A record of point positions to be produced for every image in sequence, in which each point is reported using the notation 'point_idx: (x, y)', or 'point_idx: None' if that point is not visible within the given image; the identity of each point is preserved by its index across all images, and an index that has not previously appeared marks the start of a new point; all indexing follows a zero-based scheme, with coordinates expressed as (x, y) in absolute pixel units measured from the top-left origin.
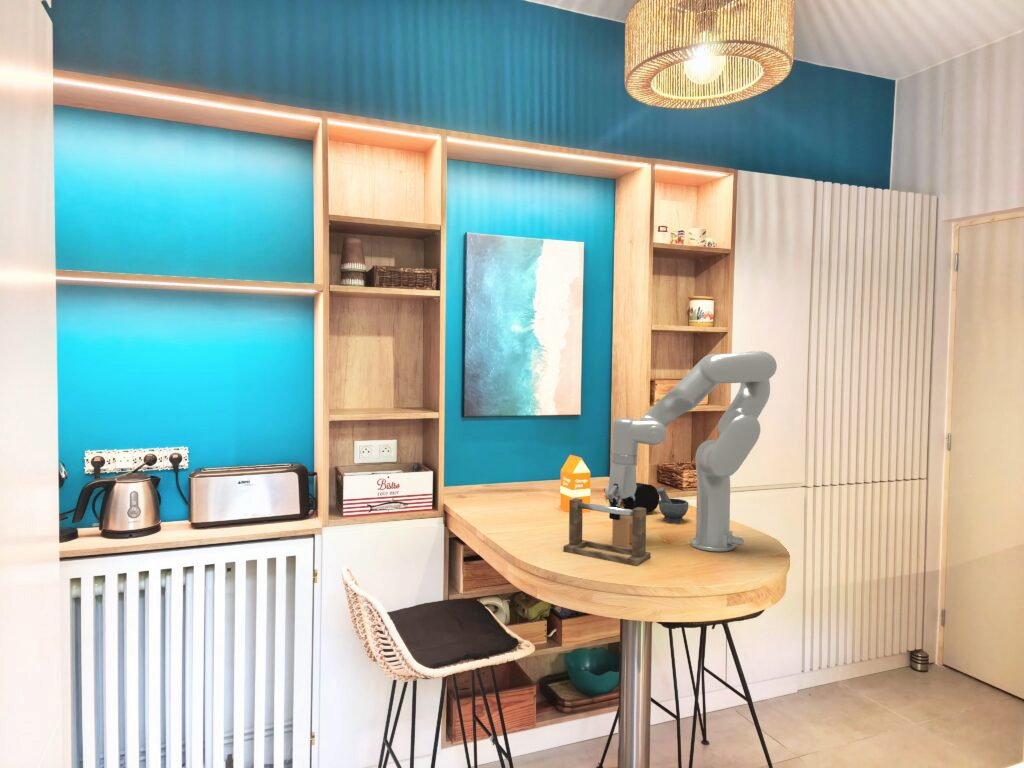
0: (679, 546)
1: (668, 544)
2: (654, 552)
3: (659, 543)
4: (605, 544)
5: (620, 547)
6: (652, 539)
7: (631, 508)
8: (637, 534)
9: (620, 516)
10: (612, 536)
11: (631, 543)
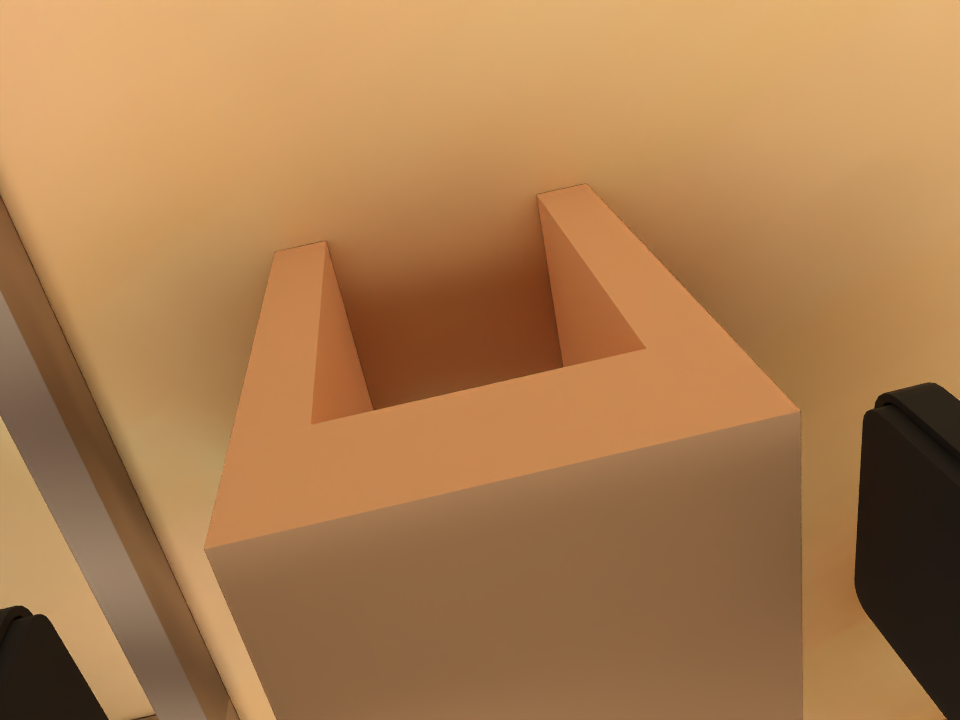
0: (821, 703)
1: (824, 614)
2: None
3: (803, 544)
4: (3, 346)
5: (98, 561)
6: None
7: (939, 677)
8: None
9: (332, 685)
10: (261, 309)
11: (563, 365)
